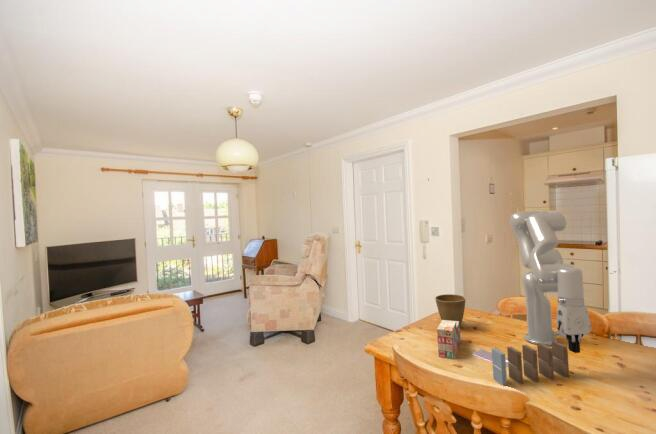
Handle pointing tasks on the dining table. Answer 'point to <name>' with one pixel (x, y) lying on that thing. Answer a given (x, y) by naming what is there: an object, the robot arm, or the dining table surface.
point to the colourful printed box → (448, 338)
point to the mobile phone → (486, 355)
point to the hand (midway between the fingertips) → (574, 351)
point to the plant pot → (451, 307)
